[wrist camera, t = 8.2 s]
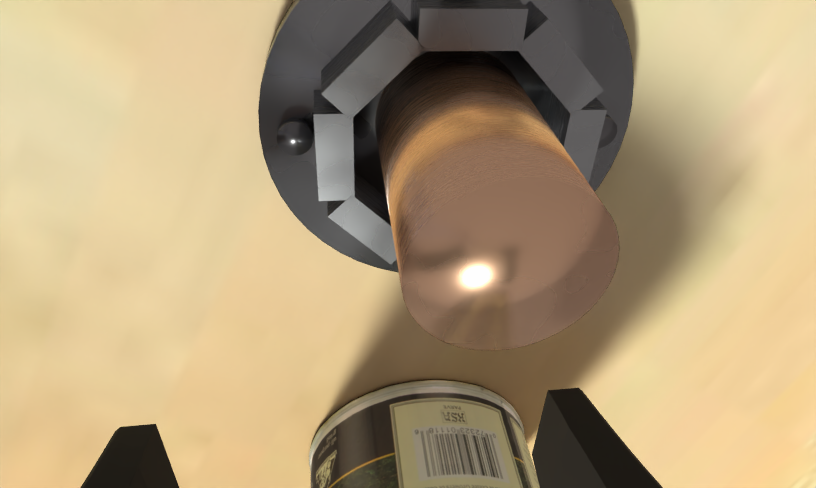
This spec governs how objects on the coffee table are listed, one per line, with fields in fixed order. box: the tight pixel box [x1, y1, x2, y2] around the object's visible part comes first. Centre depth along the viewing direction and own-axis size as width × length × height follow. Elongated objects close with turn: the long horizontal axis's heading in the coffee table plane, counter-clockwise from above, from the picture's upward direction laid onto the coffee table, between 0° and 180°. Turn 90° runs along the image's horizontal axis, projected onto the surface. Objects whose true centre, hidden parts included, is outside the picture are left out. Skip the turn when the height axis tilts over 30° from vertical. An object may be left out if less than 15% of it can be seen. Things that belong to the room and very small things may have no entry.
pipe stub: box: [375, 51, 619, 350], centre depth 15 cm, size 4×4×7 cm
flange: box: [258, 0, 633, 272], centre depth 17 cm, size 11×11×2 cm
